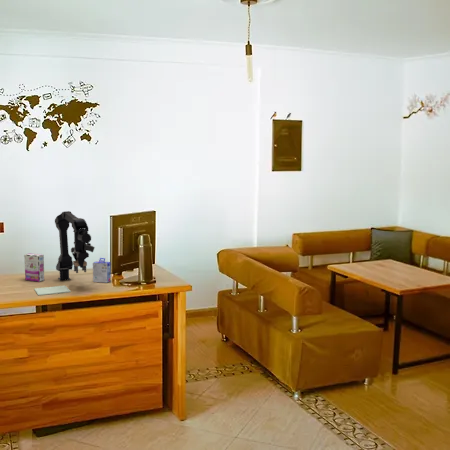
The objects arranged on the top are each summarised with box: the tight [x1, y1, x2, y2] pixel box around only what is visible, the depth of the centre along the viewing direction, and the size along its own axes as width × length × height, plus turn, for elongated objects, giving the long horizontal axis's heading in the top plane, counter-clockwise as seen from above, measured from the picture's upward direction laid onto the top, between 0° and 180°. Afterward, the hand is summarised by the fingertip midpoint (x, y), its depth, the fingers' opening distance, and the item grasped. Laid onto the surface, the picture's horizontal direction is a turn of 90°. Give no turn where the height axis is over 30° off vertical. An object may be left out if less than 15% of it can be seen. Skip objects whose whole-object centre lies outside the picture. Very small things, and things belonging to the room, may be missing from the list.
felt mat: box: [33, 285, 72, 297], centre depth 342 cm, size 14×18×1 cm
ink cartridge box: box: [92, 257, 112, 283], centre depth 364 cm, size 10×6×14 cm, turn 78°
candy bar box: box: [23, 253, 45, 283], centre depth 364 cm, size 11×5×16 cm, turn 68°
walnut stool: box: [72, 259, 88, 274], centre depth 347 cm, size 6×6×6 cm
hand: (80, 266), depth 347 cm, fingers closed on walnut stool, 6 cm apart
